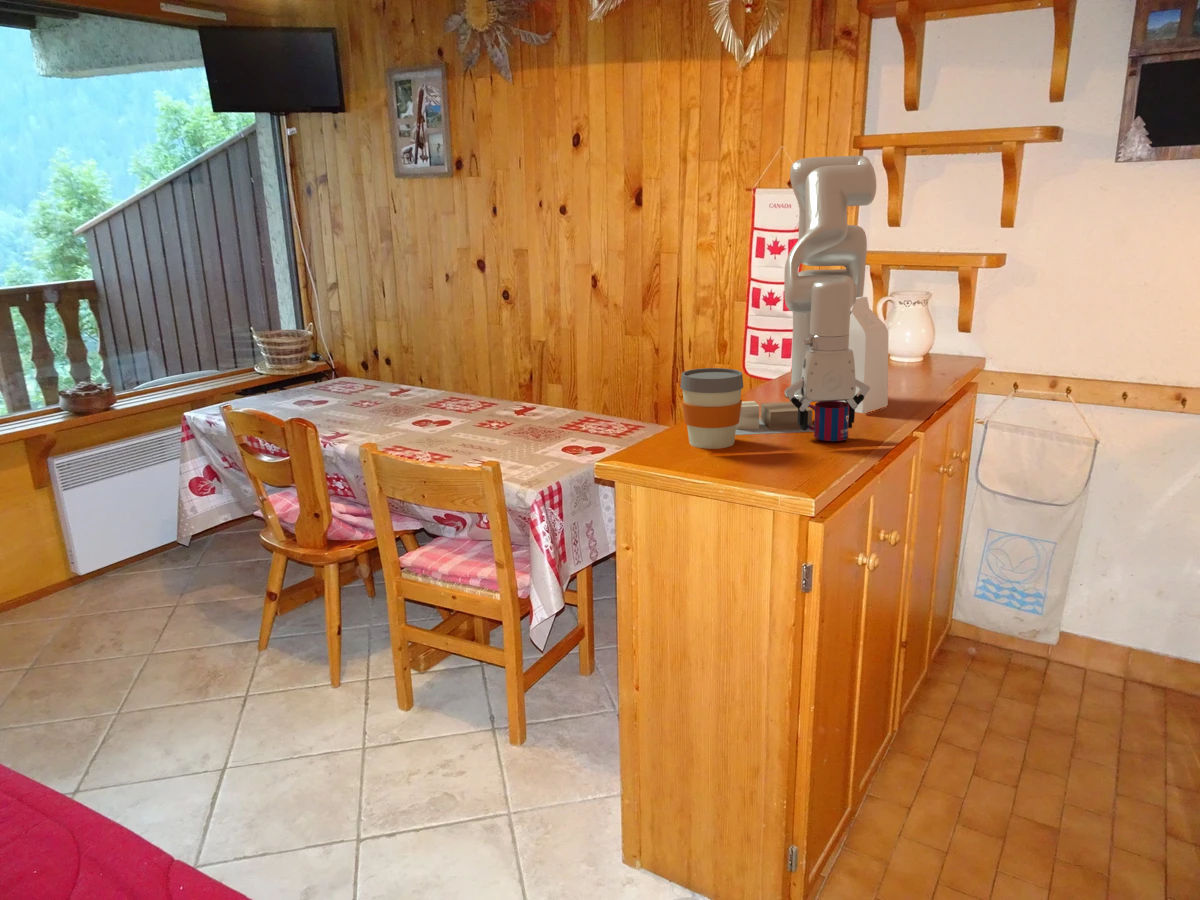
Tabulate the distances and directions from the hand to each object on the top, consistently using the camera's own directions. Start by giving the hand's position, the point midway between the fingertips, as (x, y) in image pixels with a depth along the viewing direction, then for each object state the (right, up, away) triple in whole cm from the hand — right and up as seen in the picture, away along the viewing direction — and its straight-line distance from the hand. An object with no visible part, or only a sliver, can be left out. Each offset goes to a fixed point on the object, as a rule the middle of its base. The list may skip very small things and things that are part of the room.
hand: (825, 427), depth 173 cm
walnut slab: (-5, +1, +13) cm, 14 cm away
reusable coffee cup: (-23, -4, +1) cm, 24 cm away
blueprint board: (-9, 0, +13) cm, 16 cm away
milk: (+14, +5, +30) cm, 34 cm away
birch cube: (-14, +1, +13) cm, 19 cm away
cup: (0, -2, +1) cm, 2 cm away
